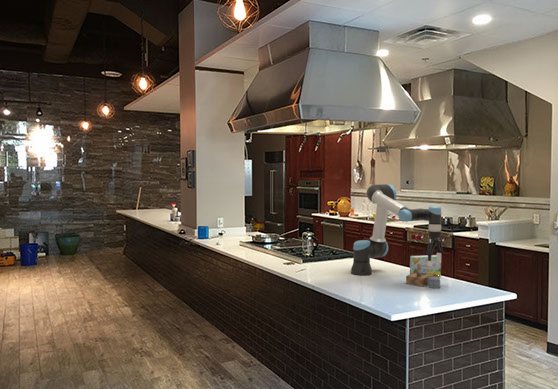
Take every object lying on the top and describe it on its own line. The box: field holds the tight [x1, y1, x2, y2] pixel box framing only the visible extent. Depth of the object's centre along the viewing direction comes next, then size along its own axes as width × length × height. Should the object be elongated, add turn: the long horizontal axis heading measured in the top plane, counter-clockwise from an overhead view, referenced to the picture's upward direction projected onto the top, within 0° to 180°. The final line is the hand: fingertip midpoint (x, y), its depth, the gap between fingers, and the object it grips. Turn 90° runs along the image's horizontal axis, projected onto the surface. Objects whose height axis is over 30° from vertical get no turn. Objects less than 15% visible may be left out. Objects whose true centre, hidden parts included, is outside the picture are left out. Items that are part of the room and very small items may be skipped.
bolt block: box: [405, 263, 432, 287], centre depth 316 cm, size 12×12×13 cm
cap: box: [427, 277, 441, 289], centre depth 307 cm, size 7×7×6 cm
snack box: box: [409, 254, 442, 278], centre depth 336 cm, size 21×6×15 cm, turn 105°
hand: (434, 264), depth 306 cm, fingers open, 13 cm apart
